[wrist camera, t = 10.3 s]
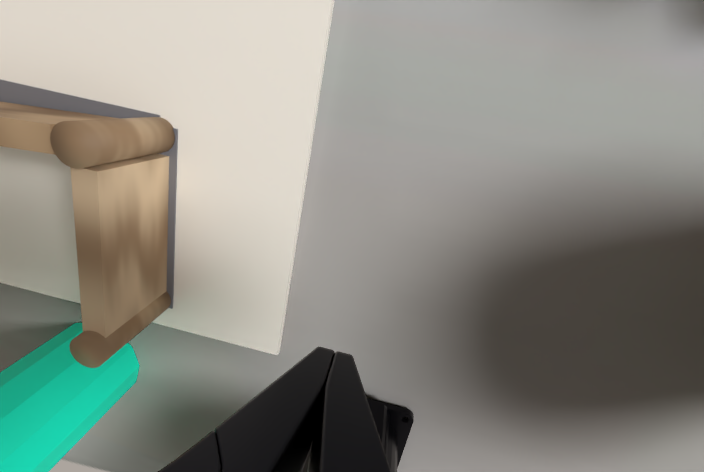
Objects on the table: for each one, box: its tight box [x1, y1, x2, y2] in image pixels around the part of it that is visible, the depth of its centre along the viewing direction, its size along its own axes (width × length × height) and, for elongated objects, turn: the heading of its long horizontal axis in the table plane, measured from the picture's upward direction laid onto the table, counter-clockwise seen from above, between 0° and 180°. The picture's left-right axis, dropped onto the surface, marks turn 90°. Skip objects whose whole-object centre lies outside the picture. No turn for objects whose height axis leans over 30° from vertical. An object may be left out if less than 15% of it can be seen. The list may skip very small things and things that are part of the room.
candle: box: [0, 323, 140, 472], centre depth 21 cm, size 6×6×12 cm
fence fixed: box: [50, 117, 175, 368], centre depth 19 cm, size 12×2×6 cm, turn 169°
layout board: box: [0, 0, 335, 355], centre depth 20 cm, size 25×24×1 cm
